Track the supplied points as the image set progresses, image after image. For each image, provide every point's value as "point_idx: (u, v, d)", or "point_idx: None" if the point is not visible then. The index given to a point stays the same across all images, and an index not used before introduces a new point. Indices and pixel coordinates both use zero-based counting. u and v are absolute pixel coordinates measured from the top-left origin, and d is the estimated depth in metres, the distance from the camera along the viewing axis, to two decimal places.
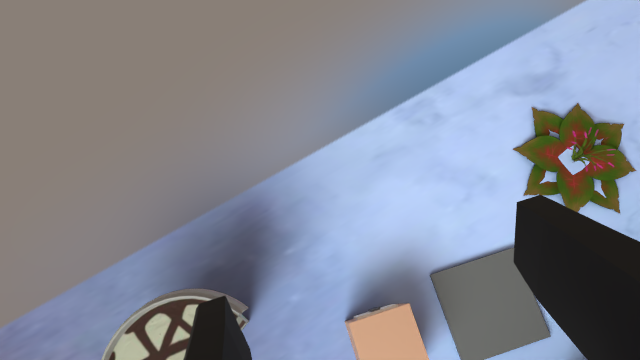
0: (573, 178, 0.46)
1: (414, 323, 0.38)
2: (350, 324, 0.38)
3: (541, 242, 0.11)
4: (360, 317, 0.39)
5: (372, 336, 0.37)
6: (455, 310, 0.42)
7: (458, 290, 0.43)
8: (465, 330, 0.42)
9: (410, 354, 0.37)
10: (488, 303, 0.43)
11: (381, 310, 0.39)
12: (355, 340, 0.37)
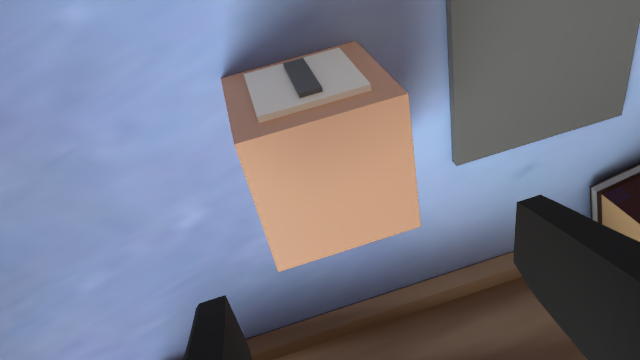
0: None
1: (408, 141, 0.14)
2: (239, 146, 0.13)
3: (541, 242, 0.11)
4: (267, 117, 0.14)
5: (295, 172, 0.14)
6: (475, 64, 0.19)
7: (498, 19, 0.18)
8: (480, 103, 0.20)
9: (382, 205, 0.15)
10: (546, 51, 0.19)
11: (326, 99, 0.14)
12: (251, 183, 0.14)
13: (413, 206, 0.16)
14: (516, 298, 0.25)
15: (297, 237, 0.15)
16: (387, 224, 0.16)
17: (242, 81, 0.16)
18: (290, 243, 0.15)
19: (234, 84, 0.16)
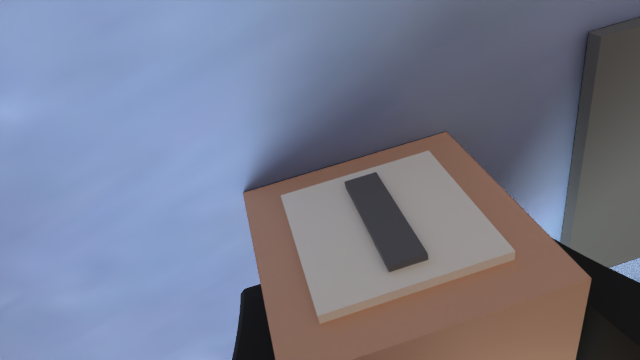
0: None
1: (572, 342, 0.08)
2: None
3: None
4: (335, 314, 0.08)
5: None
6: (613, 157, 0.13)
7: None
8: (610, 206, 0.14)
9: None
10: None
11: (438, 279, 0.08)
12: None
13: None
14: None
15: None
16: None
17: (278, 206, 0.10)
18: None
19: (266, 212, 0.10)
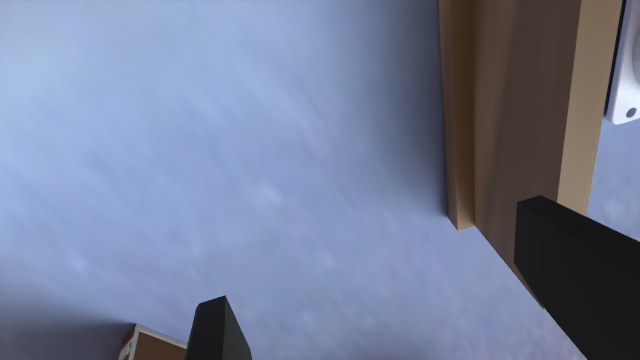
0: None
1: None
2: None
3: (541, 242, 0.11)
4: None
5: None
6: None
7: None
8: None
9: None
10: None
11: None
12: None
13: None
14: None
15: None
16: None
17: None
18: None
19: None
